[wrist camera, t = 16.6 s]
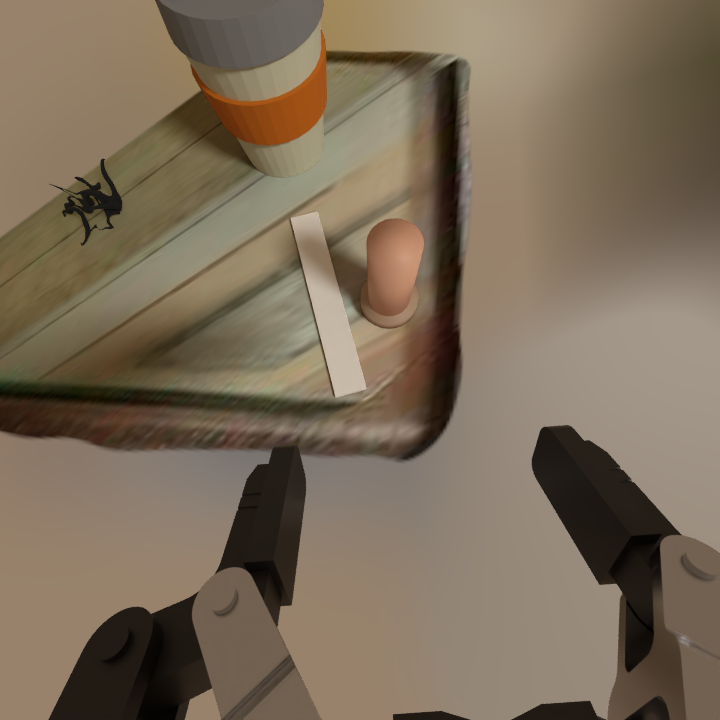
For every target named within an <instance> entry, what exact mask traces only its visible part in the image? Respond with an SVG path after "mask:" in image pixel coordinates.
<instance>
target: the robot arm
mask: <svg viewBox="0 0 720 720" xmlns="http://www.w3.org/2000/svg"><path fill="white" fill-rule="evenodd" d="M532 469H533V472H534V475H535V477H536V479H537V481H538V482H539V484H540V486H541V488H542V489H543V491H544V493H545V494H546V496H547V498H548V499H549V501H550V502H551V504H552V506H553V508H554V509H555V511H556V513H557V514H558V516H559V518H560V519H561V521H562V523H563V524H564V526H565V528H566V529H567V531H568V533H569V534H570V536H571V538H572V539H573V541H574V543H575V544H576V546H577V548H578V549H579V551H580V553H581V555H582V556H583V558H584V560H585V561H586V563H587V565H588V566H589V568H590V569H591V571H592V573H593V575H594V576H595V578H596V580H597V581H598V583H599V584H600V585H602V584H603V585H604V584H617V585H618V586H619V588H620V590H621V591H622V595H621V597H620V609H619V636H618V637H619V639H618V665H617V676H616V681H615V684H614V687H613V689H612V692H611V696H610V700H609V707H608V720H720V553H719V552H717V551H716V550H714V549H713V548H711V547H710V546H708V545H706V544H704V543H703V542H700V541H698V540H696V539H693V538H690V537H686V536H682V535H681V534H680V533H679V532H678V531H677V530H676V529H675V528H674V526H673V525H672V524H671V523H670V522H669V521H668V520H667V519H666V518H665V516H664V515H663V514H662V513H661V512H660V511H659V510H658V509H657V508H656V506H655V505H654V504H653V503H652V502H651V501H650V500H649V499H648V497H647V496H646V495H645V494H644V493H643V492H642V491H641V490H640V488H639V487H638V486H637V485H636V484H635V483H634V482H632V481H631V478H630V477H628V475H627V474H626V473H625V472H624V471H623V470H621V469H620V466H619V465H618V464H617V463H616V462H615V461H614V459H613V458H611V456H610V455H609V454H608V453H607V452H606V451H604V450H603V449H601V448H600V447H598V446H597V445H595V444H594V443H593V442H591V441H589V440H588V441H584V440H583V439H582V438H581V437H580V435H579V434H578V433H577V432H576V431H575V430H574V429H573V428H572V427H571V426H569V425H564V426H550V427H543V428H542V429H541V431H540V434H539V437H538V440H537V444H536V447H535V450H534V454H533V457H532ZM305 495H306V478H305V473H304V469H303V465H302V460H301V456H300V452H299V448H298V446H297V445H291V446H278V447H274V448H273V450H272V453H271V457H270V461H269V464H261V465H257V467H256V468H255V469H254V471H253V472H252V473H251V475H250V476H249V477H248V478H247V481H246V484H245V487H244V490H243V494H242V498H241V500H240V503H239V506H238V511H237V513H236V516H235V519H234V522H233V525H232V528H231V531H230V534H229V538H228V541H227V544H226V547H225V550H224V554H223V557H222V560H221V563H220V565H219V567H218V569H217V571H216V573H215V574H214V575H213V576H212V577H211V578H210V579H209V580H208V581H207V582H206V583H205V584H204V585H203V587H202V588H201V589H200V591H199V592H197V593H196V594H194V595H193V596H191V597H189V598H187V599H185V600H183V601H180V602H179V603H176V604H173V605H171V606H169V607H166V608H164V609H162V610H160V611H157V612H155V613H152V614H150V613H149V612H148V611H147V610H146V609H144V608H142V607H131V608H127V609H124V610H122V611H120V612H118V613H116V614H115V615H113V616H112V617H110V618H109V619H108V620H107V621H106V622H104V623H103V624H102V625H101V626H100V627H99V628H98V629H97V630H96V632H95V633H94V634H93V635H92V636H91V638H90V639H89V641H88V642H87V644H86V646H85V648H84V649H83V651H82V653H81V655H80V658H79V659H78V661H77V663H76V665H75V667H74V669H73V671H72V673H71V675H70V677H69V679H68V681H67V683H66V686H65V687H64V689H63V691H62V694H61V696H60V697H59V699H58V701H57V704H56V706H55V708H54V710H53V712H52V714H51V716H50V718H49V720H185V716H186V712H187V709H188V705H189V701H190V699H192V698H194V697H196V696H198V695H200V694H201V693H204V692H205V691H207V690H209V689H211V688H213V691H214V695H215V698H216V702H217V705H218V708H219V712H220V716H221V720H322V719H321V717H320V715H319V713H318V711H317V709H316V707H315V705H314V703H313V701H312V699H311V696H310V694H309V693H308V690H307V688H306V686H305V684H304V682H303V680H302V678H301V676H300V674H299V672H298V670H297V668H296V666H295V664H294V661H293V659H292V657H291V655H290V653H289V651H288V649H287V647H286V645H285V643H284V641H283V639H282V637H281V635H280V633H279V631H278V629H277V626H278V619H279V611H280V606H289V605H292V598H293V591H294V583H295V575H296V567H297V558H298V550H299V543H300V534H301V527H302V519H303V511H304V503H305ZM393 720H469V719H466V718H462V717H459V716H456V715H452V714H449V713H446V712H443V711H435V712H421V713H407V714H393ZM512 720H606V719H603V718H601V717H599V716H597V715H596V713H595V711H594V709H593V707H592V704H591V702H590V701H581V702H566V703H553V704H541V705H539V706H537V707H535V708H533V709H531V710H530V711H528V712H526V713H524V714H522V715H520V716H518V717H516V718H514V719H512Z"/></svg>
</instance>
